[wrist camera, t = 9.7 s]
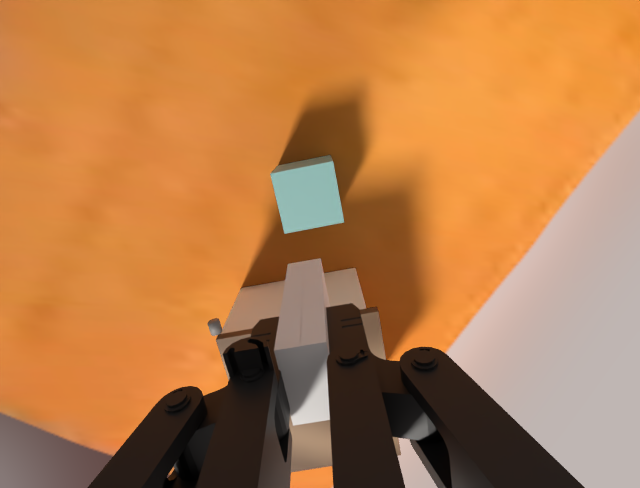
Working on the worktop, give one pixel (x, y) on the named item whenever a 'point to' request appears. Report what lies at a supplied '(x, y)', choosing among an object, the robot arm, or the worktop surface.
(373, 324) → the lid
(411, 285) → the worktop surface
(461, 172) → the worktop surface
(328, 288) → the box
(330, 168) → the block
